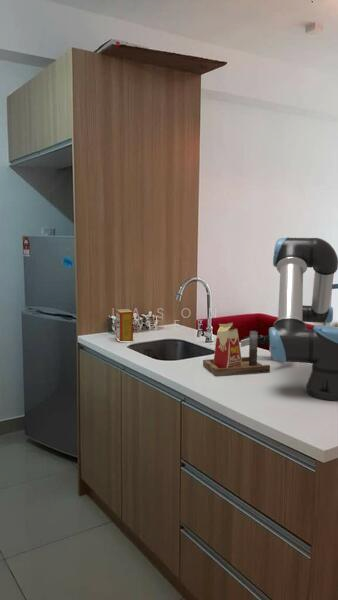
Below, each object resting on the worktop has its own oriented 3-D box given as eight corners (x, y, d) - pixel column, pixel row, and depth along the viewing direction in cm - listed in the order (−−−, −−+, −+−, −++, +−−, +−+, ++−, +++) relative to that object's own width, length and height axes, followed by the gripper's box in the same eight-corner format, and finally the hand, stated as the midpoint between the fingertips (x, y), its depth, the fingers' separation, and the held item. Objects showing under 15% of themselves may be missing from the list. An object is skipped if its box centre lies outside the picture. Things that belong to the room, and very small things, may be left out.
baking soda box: (133, 342, 245) (132, 311, 243) (120, 343, 243) (120, 311, 241) (128, 338, 254) (127, 308, 252) (116, 339, 252) (115, 308, 250)
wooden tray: (269, 371, 193) (271, 335, 191) (215, 375, 187) (216, 337, 185) (254, 362, 207) (255, 327, 205) (203, 365, 201) (203, 330, 199)
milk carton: (243, 370, 195) (244, 322, 192) (226, 374, 189) (227, 324, 187) (227, 366, 202) (228, 318, 199) (210, 369, 196) (211, 321, 194)
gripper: (305, 350, 208) (282, 360, 192) (255, 342, 224) (229, 350, 208) (306, 333, 207) (283, 341, 191) (255, 326, 223) (230, 333, 207)
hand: (255, 346), depth 200 cm, fingers open, 13 cm apart
